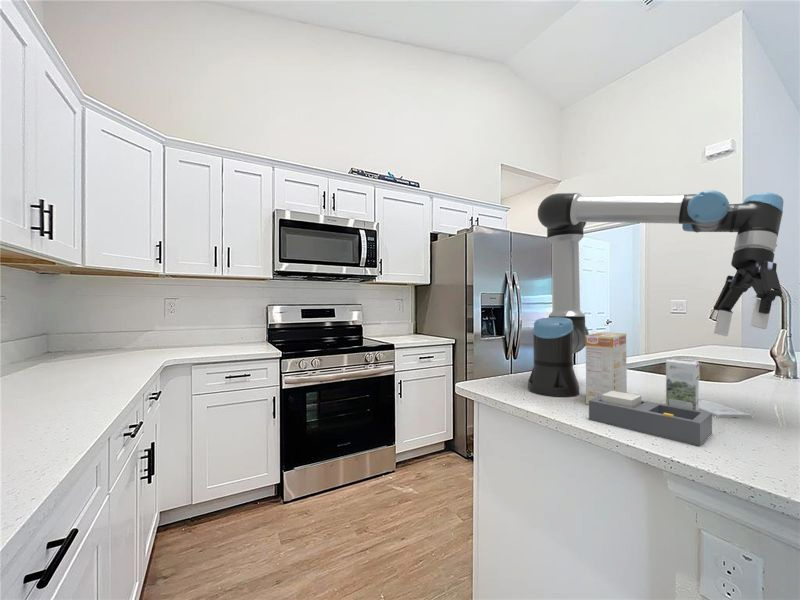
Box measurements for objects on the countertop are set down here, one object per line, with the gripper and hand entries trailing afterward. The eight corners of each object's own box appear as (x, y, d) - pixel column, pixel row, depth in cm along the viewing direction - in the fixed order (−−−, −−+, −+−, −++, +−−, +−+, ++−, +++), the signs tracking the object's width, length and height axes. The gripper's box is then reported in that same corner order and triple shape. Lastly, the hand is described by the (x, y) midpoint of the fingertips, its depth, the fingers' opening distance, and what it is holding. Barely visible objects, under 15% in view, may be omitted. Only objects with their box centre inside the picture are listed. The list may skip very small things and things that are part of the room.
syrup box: (699, 420, 85) (699, 360, 86) (696, 426, 81) (695, 362, 81) (670, 414, 89) (669, 357, 90) (665, 420, 85) (665, 360, 85)
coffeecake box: (601, 394, 109) (601, 331, 109) (628, 399, 104) (627, 333, 104) (584, 404, 99) (584, 334, 99) (613, 410, 93) (613, 336, 94)
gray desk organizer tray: (588, 419, 86) (588, 394, 86) (606, 410, 93) (606, 387, 93) (700, 446, 70) (700, 415, 70) (712, 433, 76) (711, 406, 76)
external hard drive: (708, 406, 99) (752, 420, 87) (679, 405, 99) (718, 420, 87) (708, 400, 99) (752, 414, 87) (679, 399, 99) (718, 413, 87)
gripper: (815, 236, 77) (799, 328, 75) (738, 270, 101) (723, 341, 98) (773, 229, 80) (756, 318, 77) (707, 264, 103) (692, 333, 100)
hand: (738, 331), depth 87 cm, fingers open, 13 cm apart
